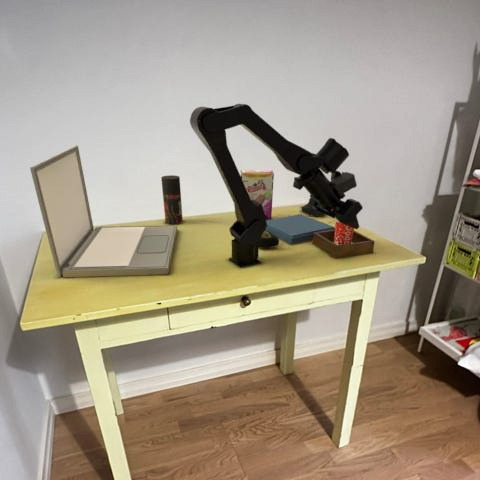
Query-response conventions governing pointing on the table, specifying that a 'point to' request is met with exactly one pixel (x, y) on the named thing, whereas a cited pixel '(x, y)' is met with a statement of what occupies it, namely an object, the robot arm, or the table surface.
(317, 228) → the blue square platform
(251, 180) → the candy bar box
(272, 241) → the tape measure
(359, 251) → the open box
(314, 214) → the gaming mouse
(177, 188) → the deodorant
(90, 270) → the laptop
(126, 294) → the table surface
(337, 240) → the beverage cup
